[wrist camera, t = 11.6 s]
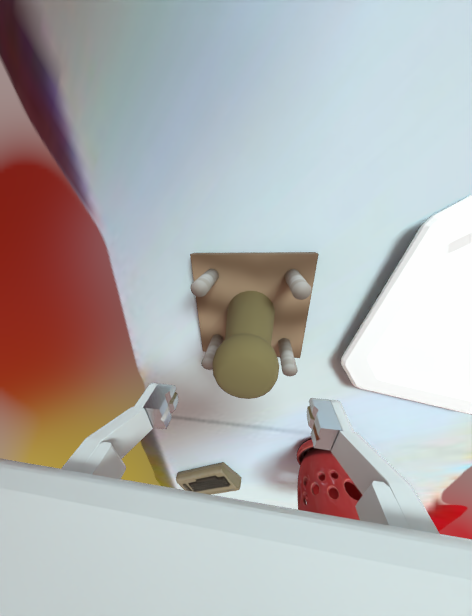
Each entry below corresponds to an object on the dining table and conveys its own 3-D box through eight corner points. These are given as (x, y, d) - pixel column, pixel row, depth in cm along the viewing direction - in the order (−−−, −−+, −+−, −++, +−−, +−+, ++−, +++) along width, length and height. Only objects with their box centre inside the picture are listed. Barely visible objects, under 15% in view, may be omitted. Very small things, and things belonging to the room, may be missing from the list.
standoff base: (193, 253, 21) (169, 262, 15) (315, 252, 19) (337, 263, 14) (205, 346, 27) (190, 377, 21) (298, 352, 25) (309, 388, 20)
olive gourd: (232, 334, 24) (212, 411, 14) (223, 293, 21) (191, 351, 11) (276, 330, 23) (289, 411, 13) (272, 287, 20) (285, 346, 10)
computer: (223, 459, 42) (220, 477, 39) (242, 475, 44) (240, 493, 41) (178, 469, 47) (172, 485, 44) (197, 483, 50) (193, 499, 47)
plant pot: (312, 421, 31) (339, 523, 20) (376, 445, 32) (435, 557, 21) (278, 453, 37) (286, 546, 26) (333, 473, 38) (362, 572, 27)
